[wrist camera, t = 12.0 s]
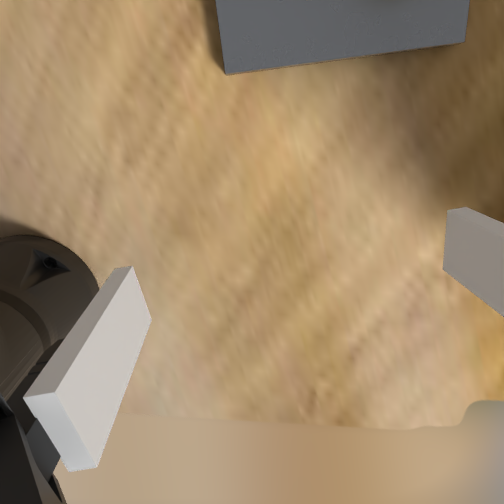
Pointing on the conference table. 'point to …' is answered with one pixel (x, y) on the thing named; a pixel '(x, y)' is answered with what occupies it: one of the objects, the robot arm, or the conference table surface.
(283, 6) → the housing plate
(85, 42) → the conference table surface
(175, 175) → the conference table surface
